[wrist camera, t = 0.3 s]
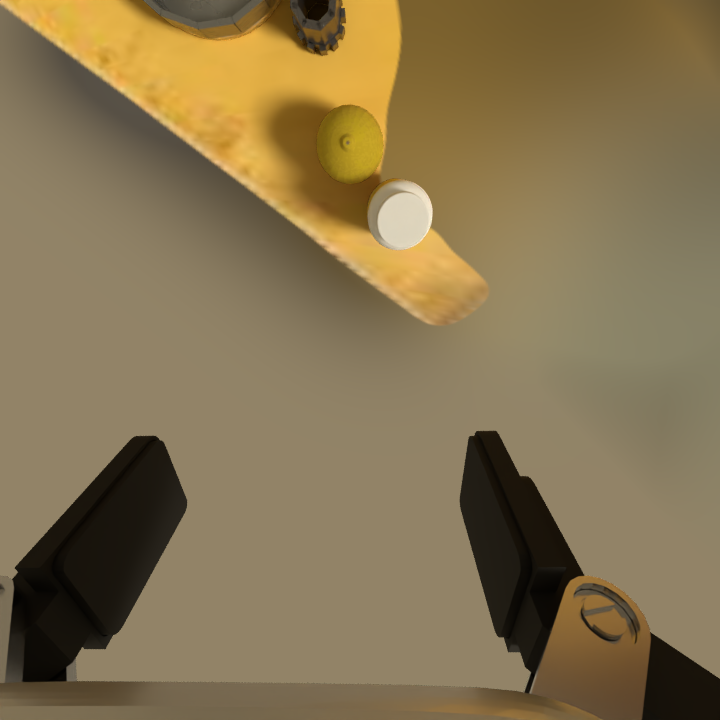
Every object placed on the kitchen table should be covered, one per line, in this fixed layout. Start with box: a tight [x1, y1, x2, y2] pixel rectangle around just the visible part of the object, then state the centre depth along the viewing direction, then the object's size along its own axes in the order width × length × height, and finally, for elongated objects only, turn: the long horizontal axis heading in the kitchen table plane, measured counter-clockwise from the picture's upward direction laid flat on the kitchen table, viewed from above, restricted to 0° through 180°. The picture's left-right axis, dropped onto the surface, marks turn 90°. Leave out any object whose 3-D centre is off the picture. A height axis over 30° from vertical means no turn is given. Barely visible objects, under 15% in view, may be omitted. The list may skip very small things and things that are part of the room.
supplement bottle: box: [367, 179, 432, 250], centre depth 30 cm, size 5×5×10 cm
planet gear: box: [290, 0, 346, 56], centre depth 26 cm, size 4×4×4 cm
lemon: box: [316, 105, 383, 184], centre depth 28 cm, size 6×6×8 cm
